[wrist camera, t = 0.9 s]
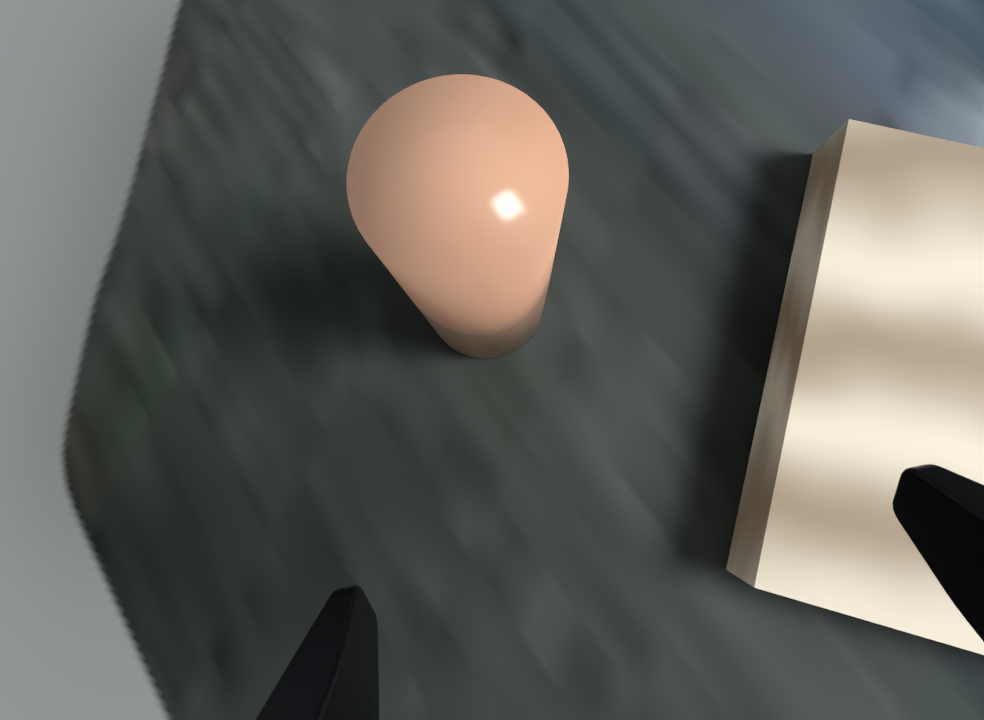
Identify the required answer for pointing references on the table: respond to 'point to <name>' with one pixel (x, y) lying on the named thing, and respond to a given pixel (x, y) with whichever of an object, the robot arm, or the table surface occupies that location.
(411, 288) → the peach capsule
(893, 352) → the birch base plate
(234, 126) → the table surface
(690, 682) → the table surface
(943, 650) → the table surface
